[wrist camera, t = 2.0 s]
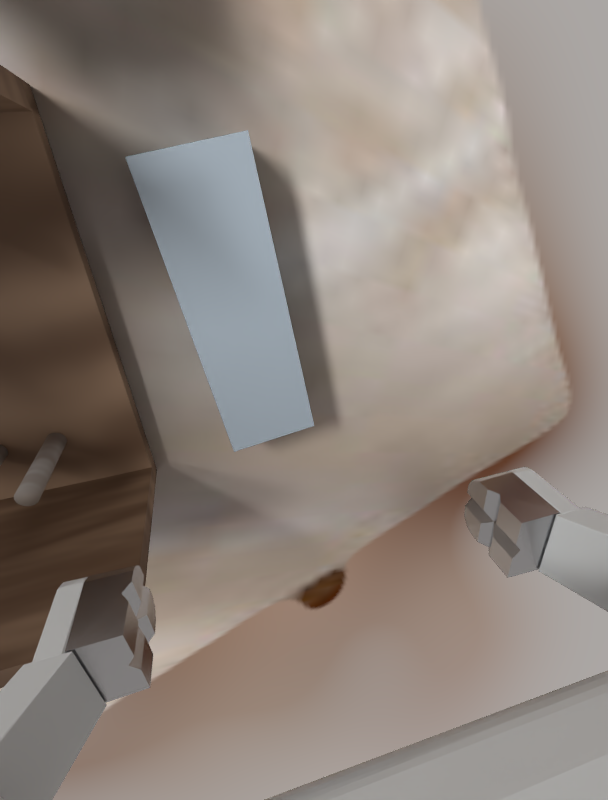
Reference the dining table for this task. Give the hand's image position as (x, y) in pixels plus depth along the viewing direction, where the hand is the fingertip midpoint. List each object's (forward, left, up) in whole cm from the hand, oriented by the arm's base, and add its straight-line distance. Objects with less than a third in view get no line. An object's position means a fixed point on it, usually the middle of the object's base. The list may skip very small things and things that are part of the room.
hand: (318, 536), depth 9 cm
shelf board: (-1, 0, -21) cm, 21 cm away
